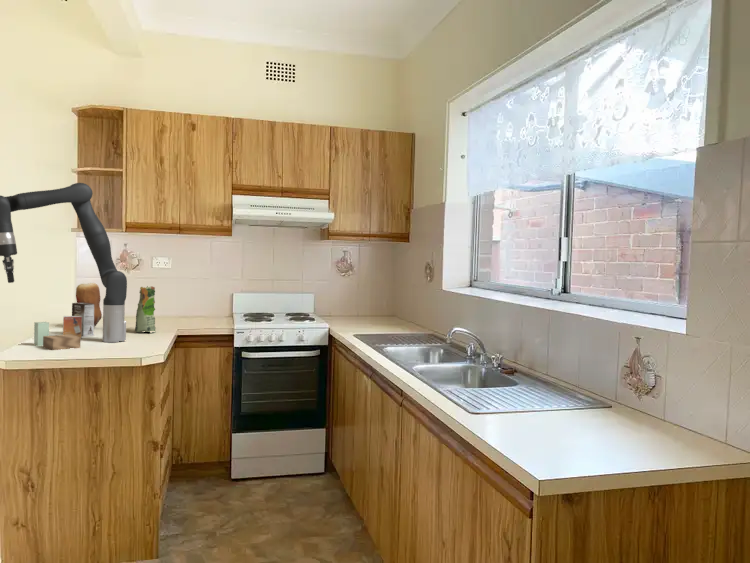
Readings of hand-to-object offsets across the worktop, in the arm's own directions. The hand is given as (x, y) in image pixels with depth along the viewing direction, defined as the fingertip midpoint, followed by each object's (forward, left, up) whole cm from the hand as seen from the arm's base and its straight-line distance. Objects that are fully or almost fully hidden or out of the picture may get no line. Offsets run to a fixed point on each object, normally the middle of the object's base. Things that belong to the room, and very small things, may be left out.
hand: (11, 282), depth 246 cm
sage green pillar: (-13, -2, -28) cm, 31 cm away
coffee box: (-40, -26, -28) cm, 55 cm away
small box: (-32, -18, -28) cm, 46 cm away
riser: (-17, +10, -28) cm, 34 cm away
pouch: (-69, -18, -28) cm, 76 cm away
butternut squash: (-53, -51, -28) cm, 79 cm away
